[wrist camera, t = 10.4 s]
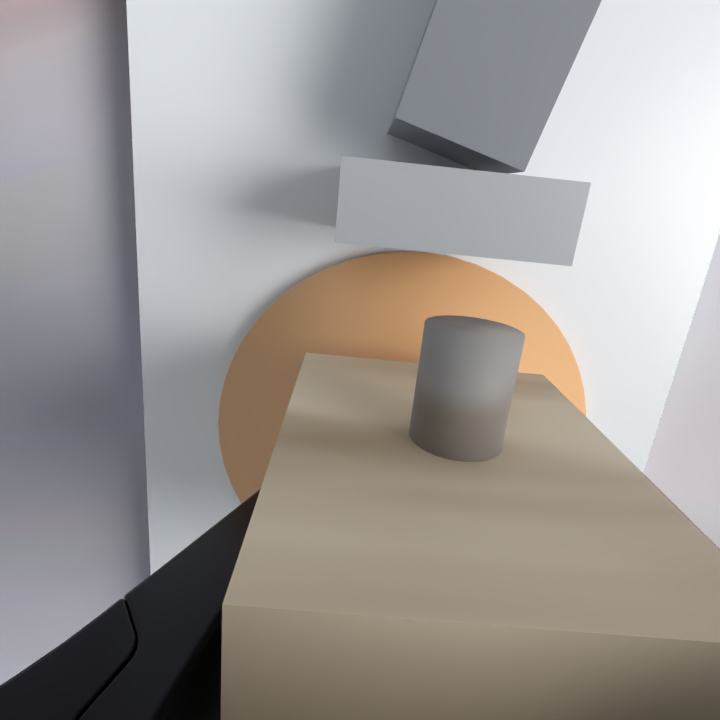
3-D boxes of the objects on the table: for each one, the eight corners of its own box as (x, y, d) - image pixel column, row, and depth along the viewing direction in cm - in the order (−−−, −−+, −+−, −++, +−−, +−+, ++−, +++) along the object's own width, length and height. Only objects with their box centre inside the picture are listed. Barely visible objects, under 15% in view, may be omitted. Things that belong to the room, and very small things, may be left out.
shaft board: (531, 756, 17) (582, 921, 13) (170, 732, 16) (113, 895, 13) (803, -154, 9) (1122, -400, 5) (140, -242, 9) (-29, -576, 5)
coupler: (486, 621, 11) (615, 1053, 6) (288, 606, 11) (216, 1032, 6) (561, 296, 9) (910, 476, 3) (311, 271, 9) (224, 417, 3)
